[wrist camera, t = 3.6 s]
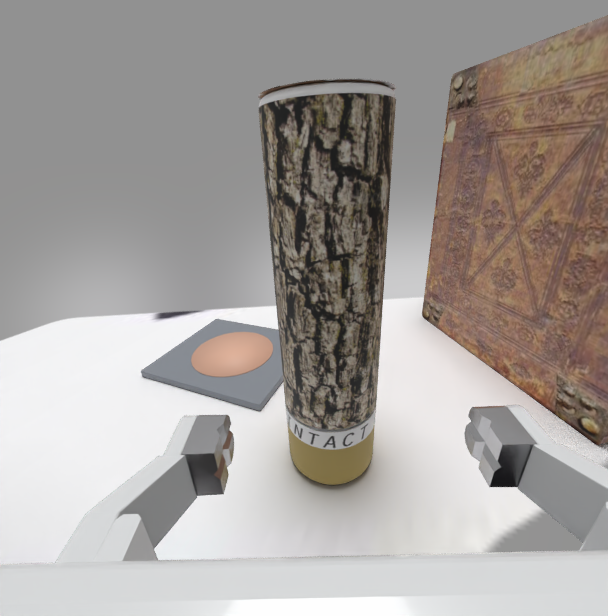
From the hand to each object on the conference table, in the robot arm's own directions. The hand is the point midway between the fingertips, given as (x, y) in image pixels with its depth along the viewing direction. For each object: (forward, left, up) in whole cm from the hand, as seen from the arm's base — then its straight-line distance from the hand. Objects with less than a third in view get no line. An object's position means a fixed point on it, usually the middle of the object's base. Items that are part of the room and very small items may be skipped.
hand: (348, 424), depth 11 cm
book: (+12, +31, -14) cm, 36 cm away
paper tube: (-4, +10, -14) cm, 18 cm away
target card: (-20, +19, -14) cm, 31 cm away
